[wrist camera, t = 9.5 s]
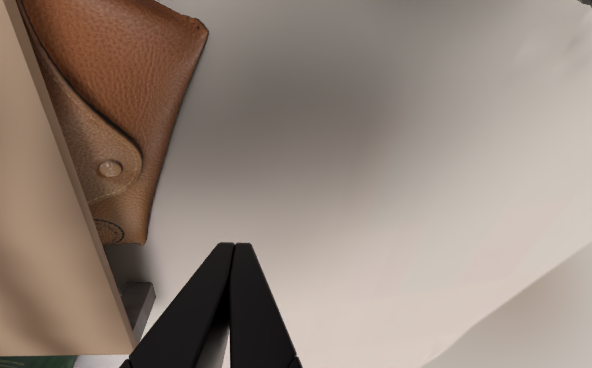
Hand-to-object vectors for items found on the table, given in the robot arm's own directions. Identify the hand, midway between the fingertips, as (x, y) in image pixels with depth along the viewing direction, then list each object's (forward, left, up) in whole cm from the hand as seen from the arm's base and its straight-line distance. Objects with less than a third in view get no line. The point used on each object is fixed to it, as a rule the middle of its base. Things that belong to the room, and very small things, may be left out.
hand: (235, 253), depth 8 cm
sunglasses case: (+9, +3, -13) cm, 16 cm away
